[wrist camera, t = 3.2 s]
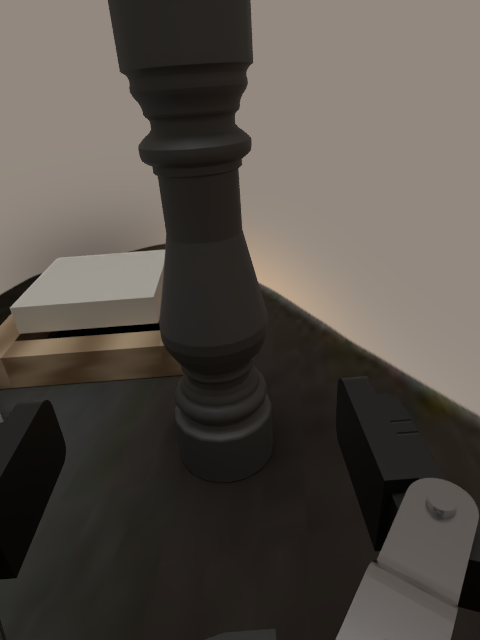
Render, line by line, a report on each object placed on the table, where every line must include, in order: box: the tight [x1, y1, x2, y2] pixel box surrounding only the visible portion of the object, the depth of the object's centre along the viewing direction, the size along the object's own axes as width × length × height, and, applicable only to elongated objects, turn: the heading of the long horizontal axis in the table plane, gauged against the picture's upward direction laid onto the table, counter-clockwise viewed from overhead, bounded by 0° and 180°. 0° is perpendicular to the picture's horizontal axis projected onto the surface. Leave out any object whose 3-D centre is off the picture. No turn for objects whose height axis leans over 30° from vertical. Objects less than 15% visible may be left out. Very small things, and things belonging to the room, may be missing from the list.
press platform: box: [10, 250, 165, 334], centre depth 42 cm, size 12×12×2 cm
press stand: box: [0, 314, 184, 389], centre depth 44 cm, size 18×18×3 cm
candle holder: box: [108, 0, 273, 483], centre depth 23 cm, size 6×6×25 cm
